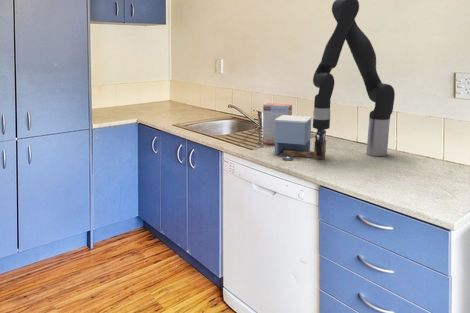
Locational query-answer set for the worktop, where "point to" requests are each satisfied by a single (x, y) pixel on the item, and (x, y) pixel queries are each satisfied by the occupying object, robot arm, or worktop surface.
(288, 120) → the cabinet
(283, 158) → the grey metal dome
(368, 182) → the worktop surface
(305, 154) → the wooden mallet
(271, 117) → the cracker box
